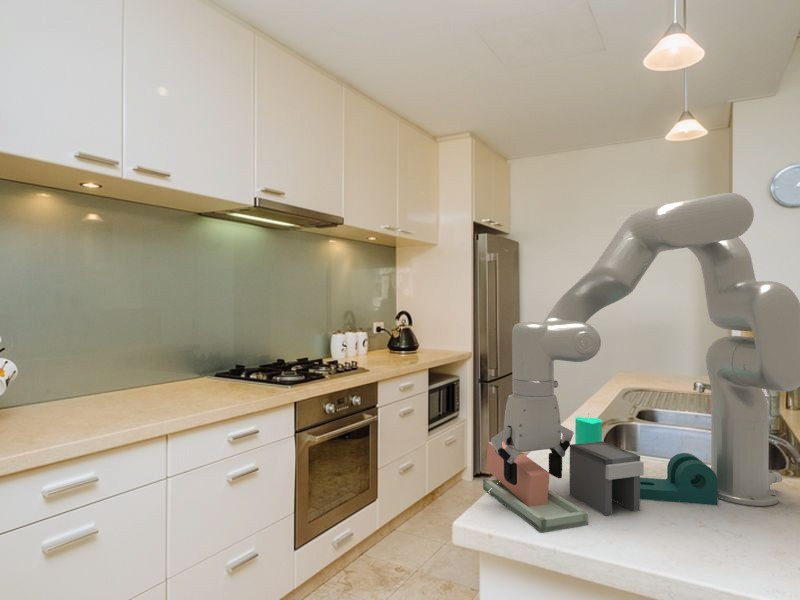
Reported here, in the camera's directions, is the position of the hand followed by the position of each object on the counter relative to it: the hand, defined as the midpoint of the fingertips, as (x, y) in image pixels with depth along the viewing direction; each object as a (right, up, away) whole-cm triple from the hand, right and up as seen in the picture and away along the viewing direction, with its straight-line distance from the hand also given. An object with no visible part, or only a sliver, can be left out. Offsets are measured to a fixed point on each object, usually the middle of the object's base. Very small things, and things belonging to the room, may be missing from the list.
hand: (533, 479), depth 94 cm
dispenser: (+14, -5, +2) cm, 15 cm away
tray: (0, -5, 0) cm, 5 cm away
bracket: (+27, -6, +6) cm, 28 cm away
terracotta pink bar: (-2, -3, +5) cm, 7 cm away
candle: (+20, -5, +25) cm, 32 cm away
